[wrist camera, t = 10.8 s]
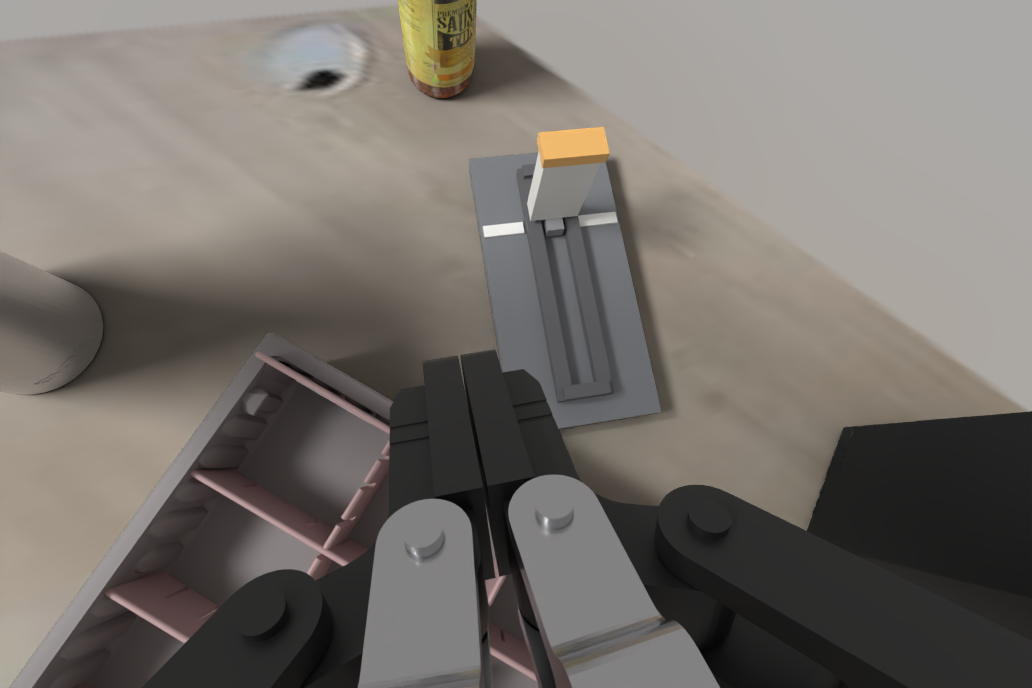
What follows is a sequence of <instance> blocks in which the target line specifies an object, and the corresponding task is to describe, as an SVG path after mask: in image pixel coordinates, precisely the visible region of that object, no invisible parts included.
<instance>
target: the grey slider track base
mask: <svg viewBox="0 0 1032 688" xmlns="http://www.w3.org/2000/svg"><path fill="white" fill-rule="evenodd" d="M537 157H538V153H528V154H517V155H506V156H496V157H485V158H474V159H469V172H470V178H471V185H472V191H473V197H474V204H475V210H476V216H477V223H478V229H479V235H480V241H481V248H482V254H483V260H484V267H485V273H486V279H487V286H488V292H489V298H490V304H491V311H492V317H493V323H494V330H495V336H496V342H497V349H498V355H499V361H500V367H501V370H502V372H508V371H514V370H520V369H524V370H526V371H527V372H528V373H529V374H530V375H532V376H533V377H534V378H535V379H536V380H538V381H539V382H540V385H541V387H542V389H543V392H544V394H545V397H546V399H547V403H548V404H549V407H550V409H551V412H552V415H553V418H554V419H555V422H556V424H557V427H558V429H564V428H571V427H577V426H583V425H589V424H595V423H601V422H607V421H614V420H620V419H626V418H632V417H638V416H644V415H650V414H655V413H659V412H661V407H660V403H659V398H658V394H657V389H656V385H655V380H654V376H653V372H652V367H651V363H650V358H649V354H648V349H647V345H646V340H645V336H644V331H643V327H642V322H641V318H640V313H639V309H638V304H637V300H636V295H635V291H634V286H633V282H632V277H631V273H630V269H629V264H628V260H627V255H626V251H625V246H624V242H623V237H622V233H621V228H620V224H619V219H618V215H617V210H616V206H615V201H614V197H613V192H612V188H611V183H610V179H609V175H608V170H607V166H606V162H603V163H601V164H600V166H599V168H598V171H597V173H596V175H595V177H594V180H593V182H592V184H591V187H590V189H589V191H588V193H587V196H586V198H585V200H584V202H583V205H582V207H581V209H580V211H579V214H578V216H572V217H563V218H562V219H563V224H564V231H563V234H562V235H558V236H549V237H546V236H545V230H544V225H543V220H536V221H530V217H529V211H528V206H527V202H528V197H529V193H530V188H531V184H532V179H533V175H534V170H535V166H536V161H537Z"/></svg>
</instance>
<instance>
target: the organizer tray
mask: <svg viewBox="0 0 1032 688" xmlns="http://www.w3.org/2000/svg"><path fill="white" fill-rule="evenodd" d="M393 402H394V401H392V400H390V399H389V398H387V397H385V396H383V395H382V394H380V393H378V392H377V391H375V390H373V389H371V388H370V387H368V386H366V385H364V384H363V383H361V382H359V381H358V380H356V379H354V378H352V377H351V376H349V375H347V374H346V373H344V372H342V371H340V370H339V369H337V368H335V367H333V366H332V365H330V364H328V363H327V362H325V361H323V360H321V359H320V358H318V357H316V356H314V355H313V354H311V353H309V352H308V351H306V350H304V349H302V348H301V347H299V346H297V345H295V344H294V343H292V342H290V341H289V340H287V339H285V338H283V337H282V336H280V335H278V334H277V333H275V332H268V333H267V334H266V335H265V336H264V338H263V339H262V340H261V342H260V343H259V345H258V346H257V347H256V349H255V350H254V351H253V353H252V354H251V356H250V357H249V358H248V360H247V361H246V362H245V364H244V365H243V367H242V368H241V369H240V371H239V372H238V373H237V375H236V376H235V378H234V379H233V380H232V382H231V383H230V384H229V386H228V387H227V388H226V390H225V391H224V393H223V394H222V395H221V397H220V398H219V399H218V401H217V402H216V404H215V405H214V406H213V408H212V409H211V410H210V412H209V413H208V415H207V416H206V417H205V419H204V420H203V421H202V423H201V424H200V426H199V427H198V428H197V430H196V431H195V432H194V434H193V435H192V437H191V438H190V439H189V441H188V442H187V443H186V445H185V446H184V448H183V449H182V450H181V452H180V453H179V454H178V456H177V457H176V459H175V460H174V461H173V463H172V464H171V465H170V467H169V468H168V470H167V471H166V472H165V474H164V475H163V476H162V478H161V479H160V481H159V482H158V483H157V485H156V486H155V487H154V489H153V490H152V492H151V493H150V494H149V496H148V497H147V498H146V500H145V501H144V503H143V504H142V505H141V507H140V508H139V509H138V511H137V512H136V514H135V515H134V516H133V518H132V519H131V520H130V522H129V523H128V525H127V526H126V527H125V529H124V530H123V531H122V533H121V534H120V536H119V537H118V538H117V540H116V541H115V542H114V544H113V545H112V547H111V548H110V549H109V551H108V552H107V553H106V555H105V556H104V557H103V559H102V560H101V562H100V563H99V564H98V566H97V567H96V568H95V570H94V571H93V573H92V574H91V575H90V577H89V578H88V579H87V581H86V582H85V584H84V585H83V586H82V588H81V589H80V590H79V592H78V593H77V595H76V596H75V597H74V599H73V600H72V601H71V603H70V604H69V606H68V607H67V608H66V610H65V611H64V612H63V614H62V615H61V617H60V618H59V619H58V621H57V622H56V623H55V625H54V626H53V628H52V629H51V630H50V632H49V633H48V634H47V636H46V637H45V639H44V640H43V641H42V643H41V644H40V645H39V647H38V648H37V650H36V651H35V652H34V654H33V655H32V656H31V658H30V659H29V661H28V662H27V663H26V665H25V666H24V667H23V669H22V670H21V672H20V673H19V674H18V676H17V677H16V678H15V680H14V681H13V683H12V684H11V685H10V687H9V688H142V687H143V686H144V685H145V684H146V683H147V682H148V681H149V680H150V679H151V677H152V676H153V675H154V674H155V673H156V672H157V671H158V670H159V669H160V668H161V667H162V666H163V665H164V664H165V663H166V662H167V661H168V660H169V659H170V658H171V657H172V656H173V655H174V654H175V653H176V652H177V651H178V650H179V649H180V648H181V647H182V646H183V645H184V644H185V643H186V642H187V641H188V640H189V639H190V637H191V636H192V635H193V634H194V633H195V632H196V631H197V630H198V629H199V628H200V627H201V626H202V625H203V624H204V623H205V622H206V621H207V620H208V619H209V618H210V617H211V616H212V615H213V614H214V613H215V612H216V611H217V610H218V609H219V608H220V607H221V606H222V605H223V604H224V603H225V602H226V601H227V600H228V598H229V597H231V596H232V595H233V594H234V593H235V592H236V591H237V590H238V589H240V588H241V587H242V586H244V585H245V584H246V583H248V582H250V581H251V580H253V579H255V578H257V577H259V576H261V575H263V574H266V573H269V572H272V571H276V570H282V569H294V570H300V571H302V572H305V573H307V574H309V575H310V576H311V577H313V578H314V580H315V581H316V580H318V579H319V578H321V577H323V576H325V575H327V574H329V573H331V572H333V571H335V570H337V569H339V568H341V567H343V566H345V565H347V564H348V563H350V562H352V561H354V560H355V559H357V558H358V557H360V556H361V555H362V554H364V553H365V552H366V551H367V550H368V549H369V548H370V547H371V546H372V545H373V544H374V543H375V542H376V541H377V537H378V534H379V532H380V530H381V528H382V527H383V525H384V523H385V522H386V521H387V519H388V514H389V448H390V444H389V440H390V407H391V405H392V404H393ZM485 505H486V504H485ZM486 512H487V510H486ZM487 520H488V515H487ZM488 527H489V534H490V541H491V549H492V556H493V563H494V570H495V577H496V578H493V579H489V580H485V584H486V590H487V597H488V603H489V610H490V619H489V625H488V629H489V640H490V652H491V665H492V677H493V688H539V686H538V683H537V679H536V676H535V673H534V669H533V666H532V662H531V659H530V655H529V652H528V648H527V645H526V642H525V638H524V635H523V631H522V628H521V624H520V620H519V615H518V605H517V597H516V593H515V588H514V583H513V579H512V574H510V575H505V576H501V577H499V573H498V567H497V562H496V557H495V552H494V546H493V541H492V536H491V531H490V525H489V520H488Z"/></svg>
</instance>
